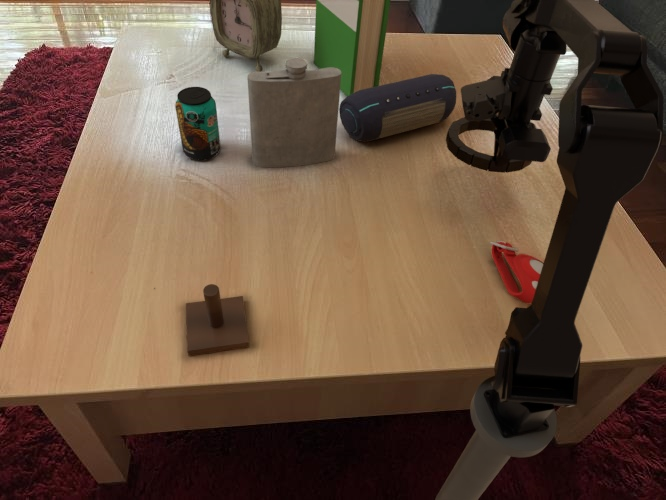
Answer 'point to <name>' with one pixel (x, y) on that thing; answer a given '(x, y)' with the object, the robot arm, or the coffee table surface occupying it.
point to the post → (216, 323)
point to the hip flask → (293, 114)
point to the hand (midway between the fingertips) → (497, 162)
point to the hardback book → (351, 40)
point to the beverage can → (198, 123)
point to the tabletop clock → (247, 26)
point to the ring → (473, 156)
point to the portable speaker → (397, 107)
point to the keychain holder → (517, 270)
